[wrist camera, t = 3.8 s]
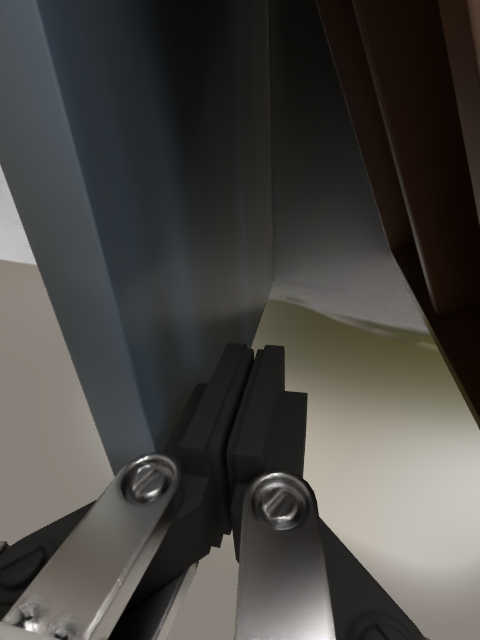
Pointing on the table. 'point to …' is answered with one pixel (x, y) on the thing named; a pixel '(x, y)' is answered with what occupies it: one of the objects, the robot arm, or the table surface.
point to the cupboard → (421, 153)
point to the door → (142, 191)
